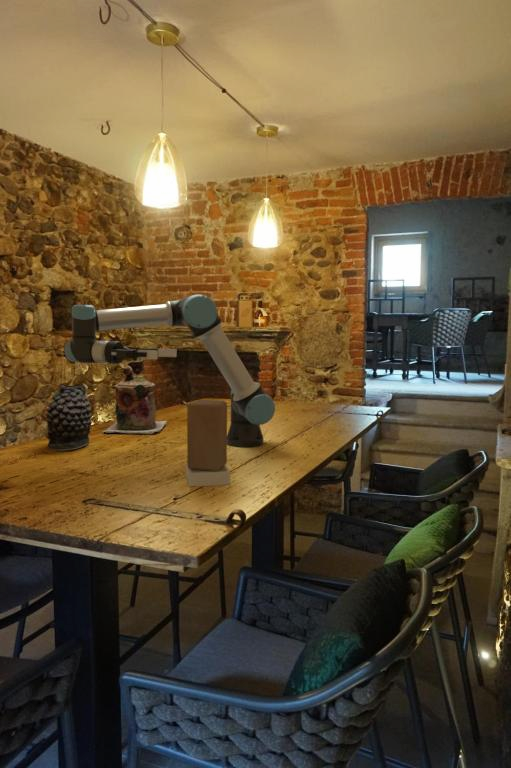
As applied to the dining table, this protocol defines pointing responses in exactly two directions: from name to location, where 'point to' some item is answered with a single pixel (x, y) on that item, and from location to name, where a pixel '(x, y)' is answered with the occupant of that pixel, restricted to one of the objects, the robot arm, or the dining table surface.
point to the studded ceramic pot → (69, 418)
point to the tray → (208, 477)
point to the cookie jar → (135, 403)
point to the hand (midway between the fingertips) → (167, 353)
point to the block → (206, 435)
